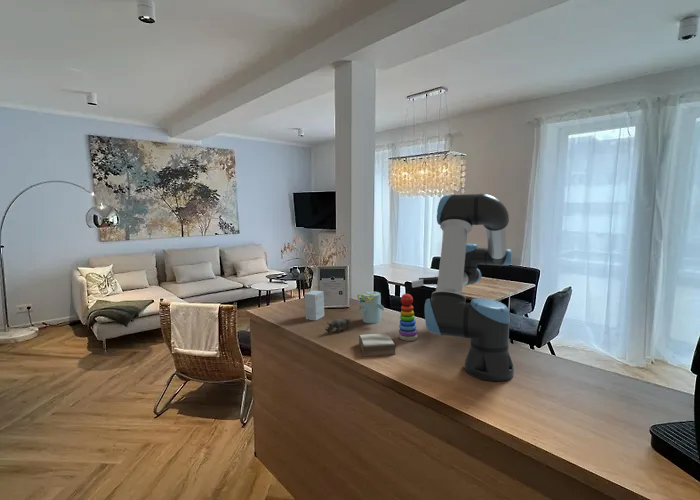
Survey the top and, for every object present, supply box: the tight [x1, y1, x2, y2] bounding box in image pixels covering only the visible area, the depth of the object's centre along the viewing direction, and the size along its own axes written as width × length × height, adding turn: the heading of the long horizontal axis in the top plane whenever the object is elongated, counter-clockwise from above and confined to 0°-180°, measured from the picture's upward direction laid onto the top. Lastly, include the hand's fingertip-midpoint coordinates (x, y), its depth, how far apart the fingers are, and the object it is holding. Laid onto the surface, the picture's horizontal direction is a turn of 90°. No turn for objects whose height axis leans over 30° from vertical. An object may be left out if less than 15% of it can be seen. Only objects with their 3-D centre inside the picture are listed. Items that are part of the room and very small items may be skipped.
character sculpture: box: [356, 291, 385, 324], centre depth 171 cm, size 20×12×13 cm, turn 34°
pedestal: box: [358, 332, 396, 357], centre depth 138 cm, size 12×12×4 cm
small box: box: [304, 289, 325, 321], centre depth 178 cm, size 8×6×13 cm
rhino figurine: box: [324, 316, 351, 334], centre depth 158 cm, size 4×14×6 cm, turn 125°
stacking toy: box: [398, 293, 419, 342], centre depth 147 cm, size 8×8×19 cm
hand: (424, 287), depth 152 cm, fingers open, 13 cm apart
